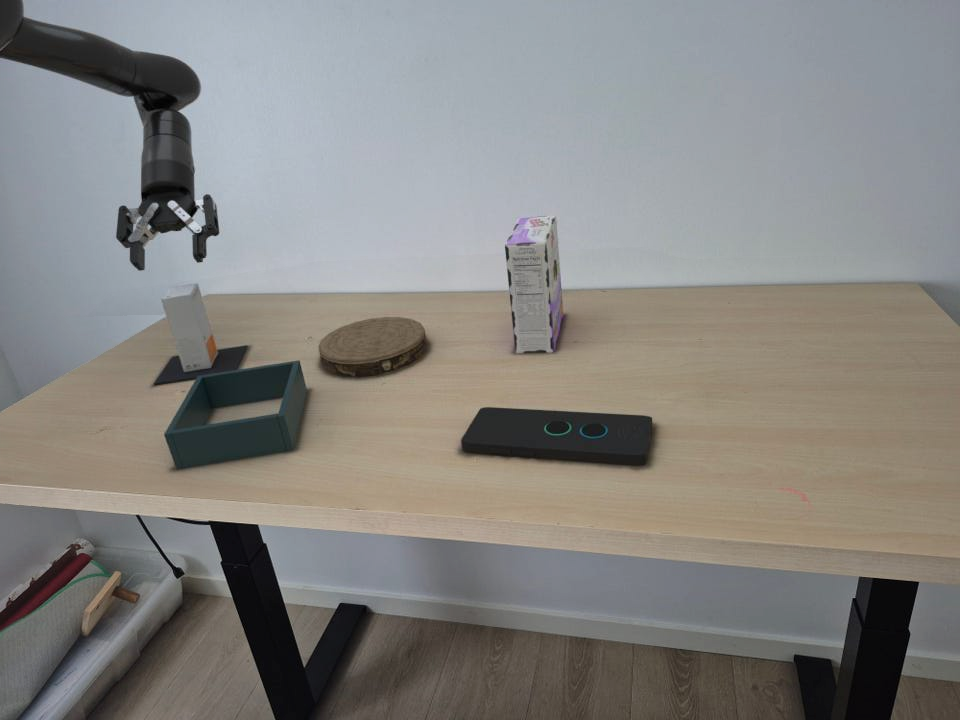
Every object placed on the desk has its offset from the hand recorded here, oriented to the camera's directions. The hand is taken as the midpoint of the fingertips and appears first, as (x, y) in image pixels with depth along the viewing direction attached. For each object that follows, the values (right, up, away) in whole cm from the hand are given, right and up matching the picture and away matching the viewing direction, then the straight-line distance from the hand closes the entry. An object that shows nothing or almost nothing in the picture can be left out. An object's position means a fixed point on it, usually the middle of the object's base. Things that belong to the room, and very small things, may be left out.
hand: (168, 264), depth 102 cm
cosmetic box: (+2, -15, +6) cm, 16 cm away
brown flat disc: (+30, -14, +3) cm, 33 cm away
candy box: (+55, -11, +2) cm, 56 cm away
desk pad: (+3, -15, +6) cm, 17 cm away
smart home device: (+54, -23, -25) cm, 64 cm away
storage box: (+16, -23, -14) cm, 31 cm away
